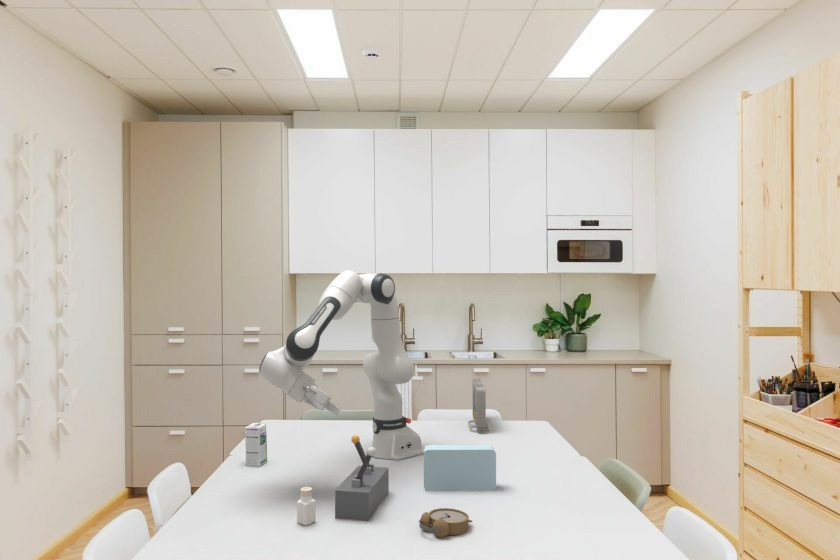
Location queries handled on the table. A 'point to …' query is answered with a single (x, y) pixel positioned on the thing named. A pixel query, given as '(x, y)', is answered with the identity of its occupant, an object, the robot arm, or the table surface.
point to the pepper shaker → (306, 507)
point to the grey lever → (366, 462)
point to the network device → (479, 407)
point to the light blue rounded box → (459, 468)
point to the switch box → (362, 493)
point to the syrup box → (256, 444)
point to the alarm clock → (444, 522)
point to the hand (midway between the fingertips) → (338, 412)
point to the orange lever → (359, 448)
